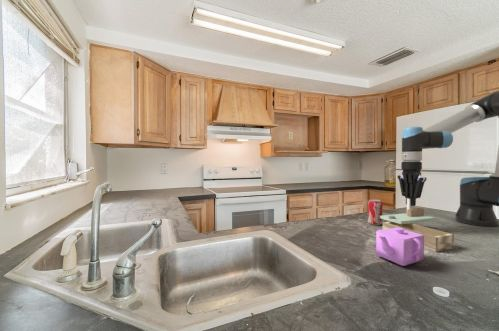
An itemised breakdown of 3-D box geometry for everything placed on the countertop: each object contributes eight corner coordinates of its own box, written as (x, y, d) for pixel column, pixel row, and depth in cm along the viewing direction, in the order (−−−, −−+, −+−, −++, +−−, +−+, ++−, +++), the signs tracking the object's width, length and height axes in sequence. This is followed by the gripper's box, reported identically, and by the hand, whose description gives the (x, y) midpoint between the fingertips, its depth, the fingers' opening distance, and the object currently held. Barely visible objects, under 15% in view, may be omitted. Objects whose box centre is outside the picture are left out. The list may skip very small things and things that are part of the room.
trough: (398, 231, 97) (398, 220, 97) (453, 248, 79) (453, 234, 78) (382, 234, 94) (382, 222, 94) (435, 252, 75) (435, 237, 75)
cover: (400, 224, 90) (400, 214, 90) (379, 218, 99) (379, 209, 99) (435, 220, 96) (435, 210, 96) (412, 215, 105) (412, 206, 105)
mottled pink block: (400, 275, 60) (400, 239, 60) (357, 255, 73) (357, 225, 72) (438, 263, 67) (438, 230, 67) (392, 247, 80) (393, 219, 80)
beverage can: (370, 225, 106) (370, 201, 106) (366, 222, 112) (366, 198, 112) (384, 226, 105) (384, 201, 105) (379, 222, 111) (379, 199, 111)
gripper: (392, 161, 105) (391, 209, 106) (417, 161, 93) (416, 216, 93) (406, 161, 107) (405, 208, 107) (432, 161, 94) (431, 215, 95)
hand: (410, 212), depth 100 cm, fingers closed
